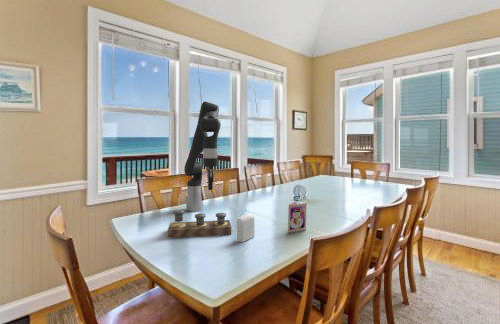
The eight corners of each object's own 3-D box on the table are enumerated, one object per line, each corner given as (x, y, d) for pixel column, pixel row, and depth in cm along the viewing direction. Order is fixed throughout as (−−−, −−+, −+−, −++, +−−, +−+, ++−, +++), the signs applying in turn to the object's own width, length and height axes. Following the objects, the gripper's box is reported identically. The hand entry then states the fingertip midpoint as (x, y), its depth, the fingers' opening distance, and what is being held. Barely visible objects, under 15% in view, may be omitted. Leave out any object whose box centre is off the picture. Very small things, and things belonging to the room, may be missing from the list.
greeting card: (288, 233, 141) (289, 205, 139) (281, 228, 148) (282, 202, 146) (306, 230, 145) (307, 203, 144) (299, 226, 152) (299, 200, 151)
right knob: (215, 225, 140) (215, 215, 139) (215, 221, 145) (215, 212, 145) (226, 224, 141) (226, 215, 140) (225, 221, 146) (225, 212, 146)
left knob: (172, 222, 136) (172, 212, 135) (173, 219, 141) (173, 210, 141) (183, 222, 137) (183, 212, 136) (184, 218, 142) (184, 209, 142)
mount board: (167, 238, 133) (167, 229, 133) (170, 229, 145) (170, 222, 144) (231, 234, 138) (231, 226, 138) (229, 226, 150) (229, 219, 150)
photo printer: (242, 243, 127) (242, 217, 126) (235, 240, 130) (235, 216, 129) (255, 237, 135) (255, 213, 134) (249, 235, 138) (249, 211, 137)
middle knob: (194, 226, 138) (194, 216, 138) (195, 222, 143) (194, 213, 143) (205, 225, 139) (205, 216, 138) (205, 222, 144) (205, 213, 144)
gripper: (218, 158, 133) (218, 192, 135) (216, 156, 146) (216, 187, 148) (203, 158, 132) (203, 192, 133) (202, 156, 145) (203, 187, 146)
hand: (210, 189), depth 141 cm, fingers closed
